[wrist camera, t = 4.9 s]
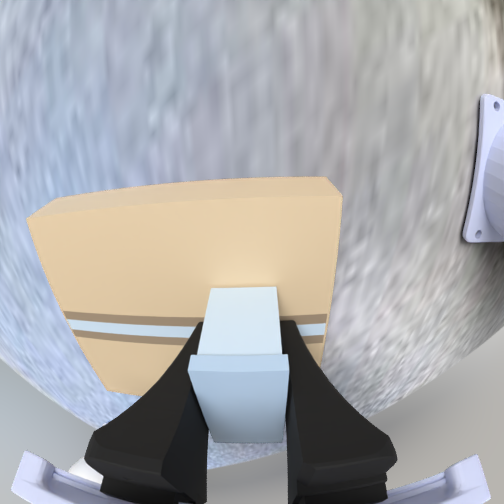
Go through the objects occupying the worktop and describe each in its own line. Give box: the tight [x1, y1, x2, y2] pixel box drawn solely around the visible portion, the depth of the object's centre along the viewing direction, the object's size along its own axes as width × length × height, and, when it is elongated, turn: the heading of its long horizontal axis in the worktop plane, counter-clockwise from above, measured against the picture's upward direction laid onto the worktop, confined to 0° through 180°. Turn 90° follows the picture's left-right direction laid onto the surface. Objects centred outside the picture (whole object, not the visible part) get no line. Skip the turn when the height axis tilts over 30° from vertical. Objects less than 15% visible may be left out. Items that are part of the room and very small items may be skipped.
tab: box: [188, 287, 289, 443], centre depth 11 cm, size 3×5×4 cm, turn 3°
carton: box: [26, 177, 343, 396], centre depth 14 cm, size 13×12×3 cm
